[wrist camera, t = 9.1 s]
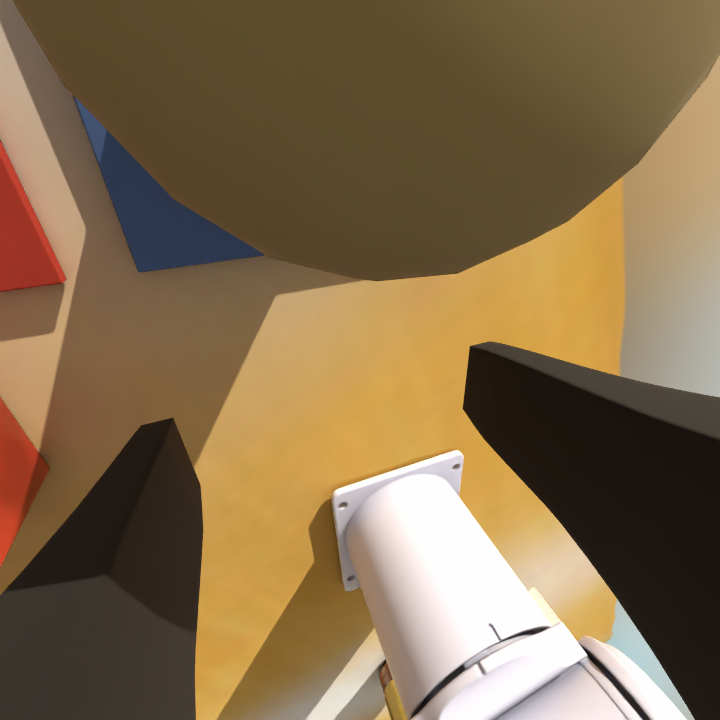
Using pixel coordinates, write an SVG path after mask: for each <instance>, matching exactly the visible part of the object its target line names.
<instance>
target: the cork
mask: <svg viewBox="0 0 720 720" xmlns="http://www.w3.org/2000/svg"><path fill="white" fill-rule="evenodd" d="M13 2H14V4H15V5H16V7H17V8H18V10H19V12H20V13H21V15H22V17H23V18H24V20H25V22H26V23H27V25H28V27H29V28H30V30H31V32H32V33H33V35H34V36H35V38H36V40H37V41H38V43H39V45H40V46H41V48H42V50H43V51H44V53H45V55H46V56H47V58H48V60H49V61H50V63H51V64H52V66H53V68H54V69H55V71H56V73H57V74H58V76H59V78H60V79H61V81H62V83H63V84H64V86H65V87H66V88H67V89H68V90H69V91H70V92H71V93H72V94H73V95H74V96H75V97H76V98H77V99H78V100H79V101H80V102H81V103H82V104H83V106H84V107H85V108H86V109H87V110H88V111H89V112H90V113H91V114H92V115H93V116H94V117H95V118H96V119H97V120H98V121H99V122H100V123H101V124H102V125H103V126H104V127H105V128H106V129H107V130H108V132H109V133H110V134H111V135H112V136H113V137H114V138H115V139H116V140H117V141H118V142H119V143H120V144H121V145H122V146H123V147H124V148H125V149H126V150H127V151H128V152H129V153H130V154H131V155H132V156H133V158H134V159H135V160H136V161H137V162H138V163H139V164H140V165H141V166H142V167H143V168H144V169H145V170H146V171H147V172H148V173H149V174H150V175H151V176H152V177H153V178H154V179H155V180H156V181H157V183H158V184H159V185H160V186H161V187H162V188H163V189H164V190H165V191H166V192H167V193H168V194H169V195H170V196H171V197H172V198H173V199H174V200H176V201H177V202H179V203H181V204H182V205H184V206H186V207H187V208H189V209H190V210H192V211H194V212H195V213H197V214H199V215H200V216H202V217H204V218H205V219H207V220H209V221H210V222H212V223H214V224H215V225H217V226H218V227H220V228H222V229H223V230H225V231H227V232H228V233H230V234H232V235H233V236H235V237H237V238H238V239H240V240H241V241H243V242H245V243H246V244H248V245H250V246H251V247H253V248H255V249H256V250H258V251H260V252H261V253H263V254H264V255H266V256H268V257H269V258H273V259H278V260H282V261H286V262H290V263H294V264H298V265H302V266H306V267H310V268H314V269H318V270H322V271H326V272H330V273H334V274H338V275H342V276H346V277H351V278H356V279H364V280H372V281H384V280H395V279H405V278H416V277H426V276H436V275H447V274H457V273H459V272H462V271H464V270H466V269H468V268H471V267H473V266H475V265H477V264H480V263H482V262H484V261H486V260H488V259H491V258H493V257H495V256H497V255H500V254H502V253H504V252H506V251H509V250H511V249H513V248H515V247H518V246H520V245H522V244H524V243H527V242H529V241H531V240H533V239H535V238H537V237H539V236H540V235H542V234H544V233H546V232H548V231H550V230H552V229H554V228H556V227H558V226H560V225H562V224H564V223H566V222H567V221H569V220H570V219H571V218H572V217H574V216H575V215H576V214H577V213H578V212H580V211H581V210H582V209H583V208H585V207H586V206H587V205H588V204H589V203H591V202H592V201H593V200H594V199H595V198H597V197H598V196H599V195H600V194H601V193H603V192H604V191H605V190H606V189H608V188H609V187H610V186H611V185H612V184H614V183H615V182H616V181H617V180H618V179H620V178H621V177H622V176H623V175H625V174H626V173H627V172H628V171H629V170H631V169H632V168H633V167H634V166H635V165H637V164H638V163H639V161H640V160H641V159H642V158H643V157H644V155H645V154H646V153H647V152H648V150H649V149H650V148H651V147H652V145H653V144H654V143H655V142H656V140H657V139H658V138H659V137H660V135H661V134H662V133H663V131H664V130H665V129H666V128H667V127H668V125H669V124H670V123H671V122H672V120H673V119H674V118H675V117H676V115H677V114H678V113H679V112H680V110H681V109H682V108H683V107H684V105H685V104H686V103H687V102H688V100H689V99H690V98H691V97H692V95H693V94H694V93H695V92H696V90H697V89H698V88H699V87H700V85H701V84H702V83H703V82H704V80H705V79H706V78H707V77H708V75H709V73H710V71H711V69H712V67H713V66H714V64H715V62H716V60H717V59H718V57H719V55H720V0H13Z"/></svg>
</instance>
